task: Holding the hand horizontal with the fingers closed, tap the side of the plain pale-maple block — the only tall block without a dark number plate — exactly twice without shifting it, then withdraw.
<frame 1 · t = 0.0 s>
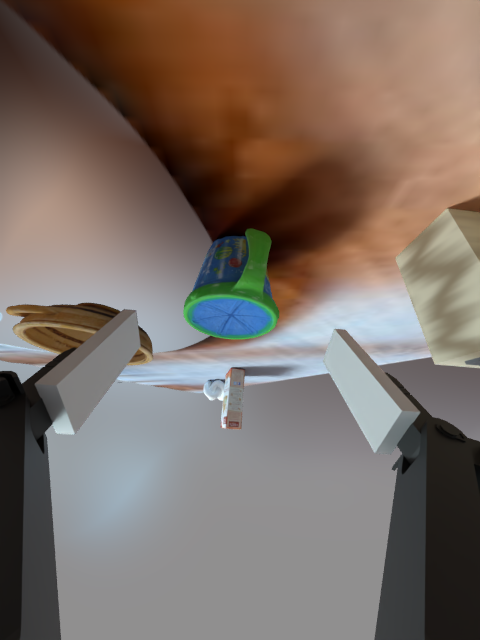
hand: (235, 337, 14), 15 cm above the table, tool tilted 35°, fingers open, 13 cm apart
marked block 2: (446, 239, 24), on the table
snack cup: (236, 253, 29), on the table
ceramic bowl: (105, 315, 48), on the table
pretzel: (215, 380, 106), on the table
cracker box: (234, 371, 87), on the table
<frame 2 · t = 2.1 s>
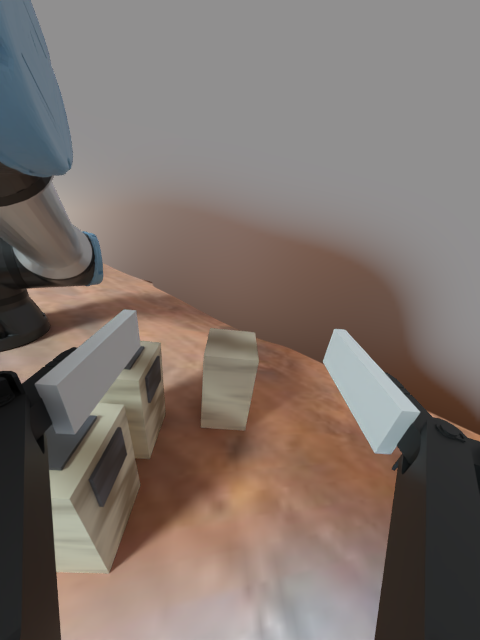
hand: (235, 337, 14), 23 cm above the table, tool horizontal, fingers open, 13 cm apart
marked block 2: (92, 521, 22), on the table
marked block 1: (134, 432, 31), on the table
plain block: (224, 410, 36), on the table
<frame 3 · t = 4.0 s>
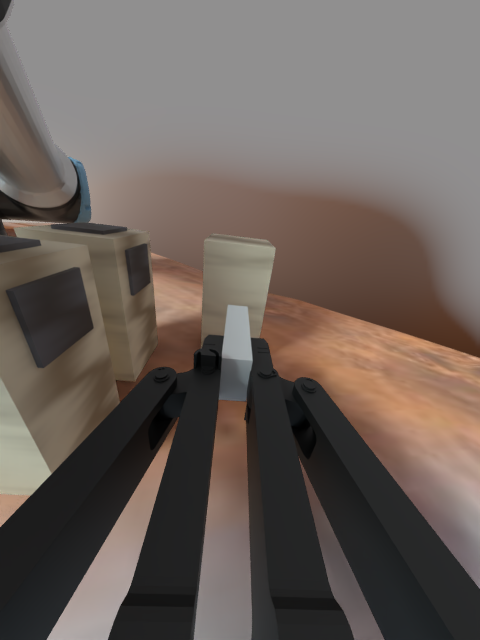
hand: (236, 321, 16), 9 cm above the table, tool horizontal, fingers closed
marked block 2: (50, 439, 16), on the table
marked block 1: (117, 357, 25), on the table
plain block: (229, 344, 30), on the table
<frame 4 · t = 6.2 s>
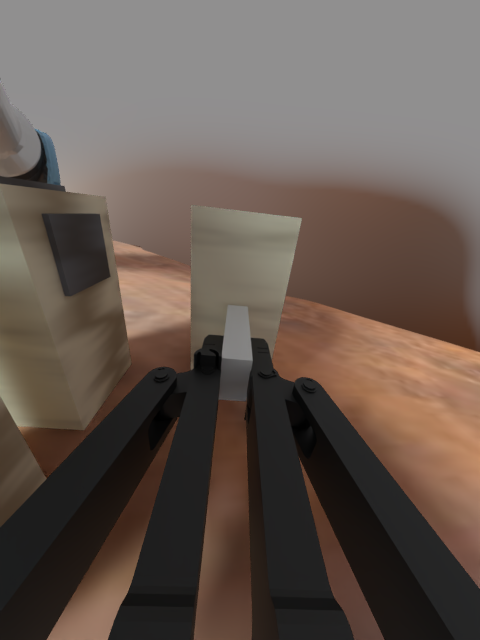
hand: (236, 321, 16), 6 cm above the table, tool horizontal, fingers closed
marked block 1: (67, 387, 17), on the table
plain block: (230, 358, 23), on the table, touching gripper
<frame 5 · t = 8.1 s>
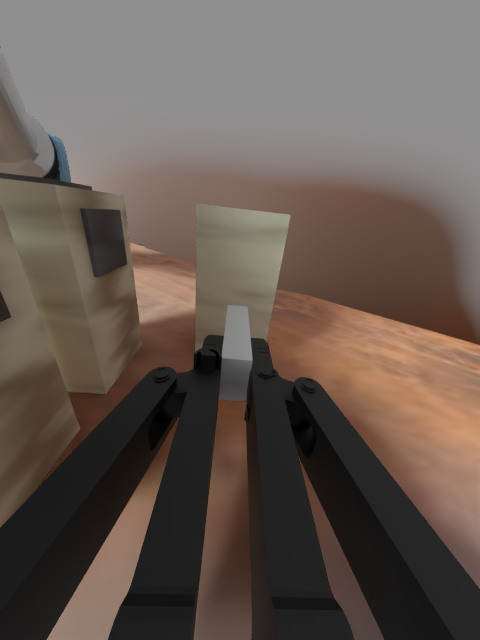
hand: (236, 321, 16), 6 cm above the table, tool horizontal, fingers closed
marked block 1: (88, 362, 20), on the table
plain block: (230, 342, 25), on the table
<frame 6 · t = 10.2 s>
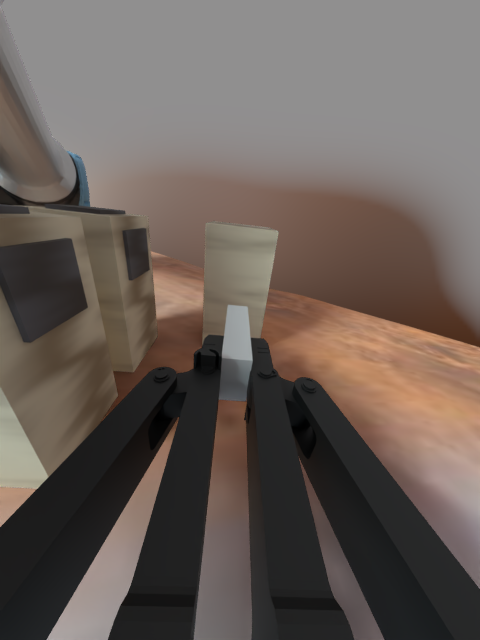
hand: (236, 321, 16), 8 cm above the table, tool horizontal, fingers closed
marked block 2: (42, 429, 15), on the table
marked block 1: (115, 349, 24), on the table
plain block: (231, 334, 30), on the table
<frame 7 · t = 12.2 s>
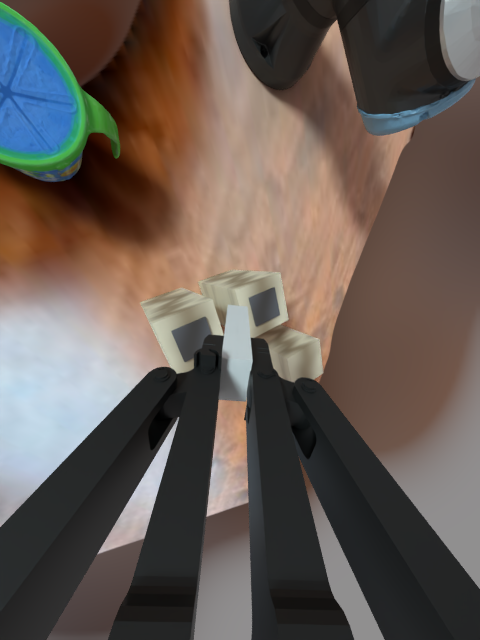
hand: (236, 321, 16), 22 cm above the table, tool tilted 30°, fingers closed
marked block 2: (169, 313, 36), on the table
snack cup: (43, 147, 25), on the table
marked block 1: (221, 293, 40), on the table
plain block: (259, 340, 47), on the table
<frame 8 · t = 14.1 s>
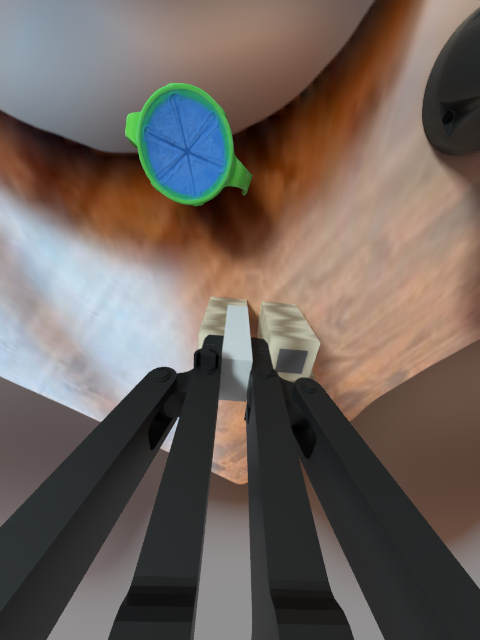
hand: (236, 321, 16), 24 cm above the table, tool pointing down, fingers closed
marked block 2: (227, 314, 43), on the table
snack cup: (200, 168, 32), on the table
marked block 1: (275, 318, 44), on the table
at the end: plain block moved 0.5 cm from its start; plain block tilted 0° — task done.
